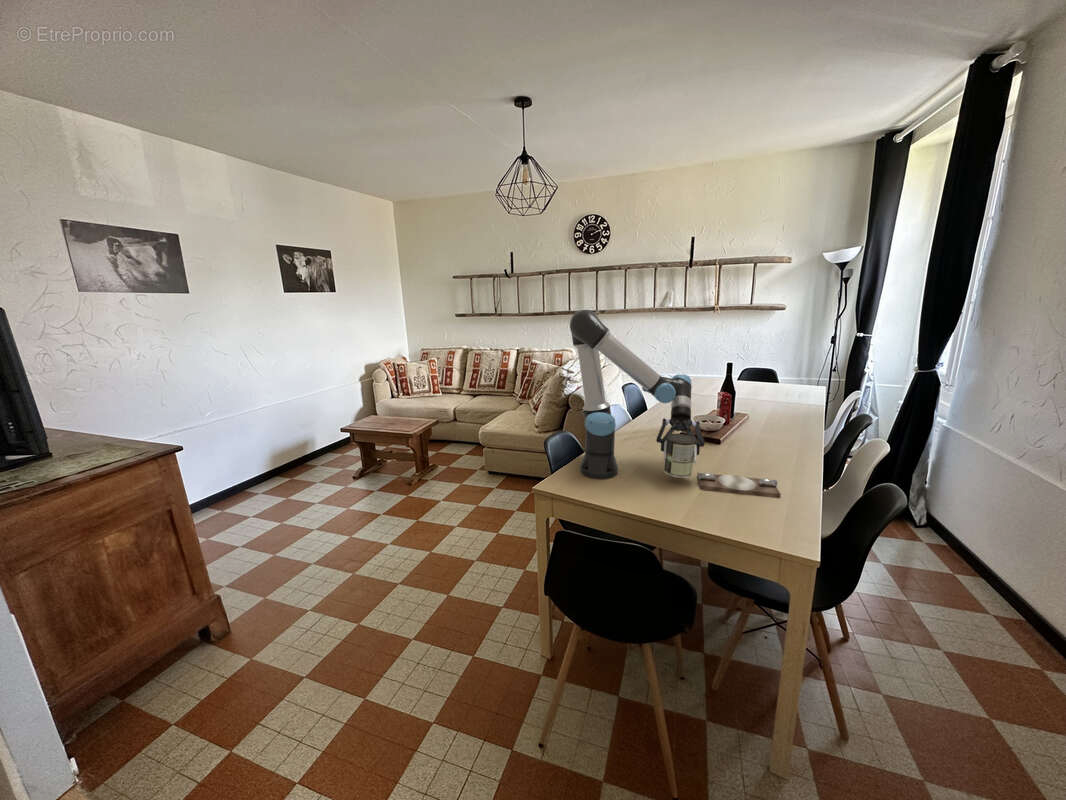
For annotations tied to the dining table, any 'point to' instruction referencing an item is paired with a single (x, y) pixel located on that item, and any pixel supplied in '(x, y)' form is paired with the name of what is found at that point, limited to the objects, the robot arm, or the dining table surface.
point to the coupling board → (738, 485)
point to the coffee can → (679, 455)
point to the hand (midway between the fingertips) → (679, 460)
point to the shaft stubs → (761, 481)
